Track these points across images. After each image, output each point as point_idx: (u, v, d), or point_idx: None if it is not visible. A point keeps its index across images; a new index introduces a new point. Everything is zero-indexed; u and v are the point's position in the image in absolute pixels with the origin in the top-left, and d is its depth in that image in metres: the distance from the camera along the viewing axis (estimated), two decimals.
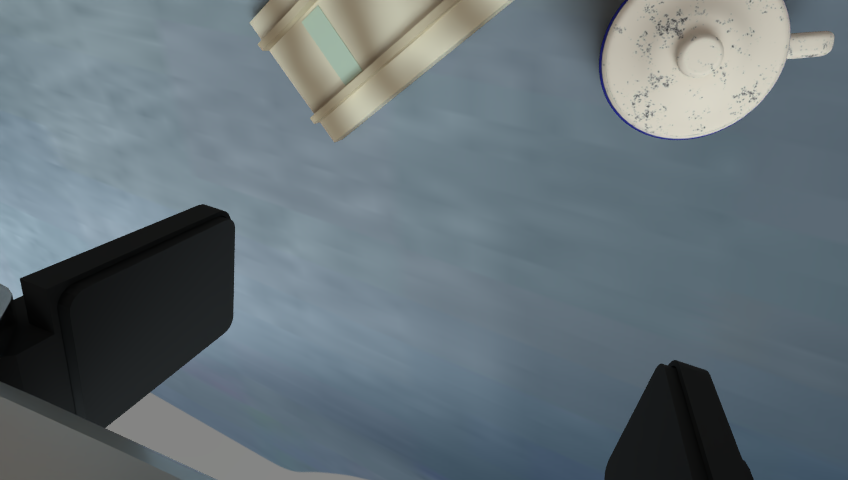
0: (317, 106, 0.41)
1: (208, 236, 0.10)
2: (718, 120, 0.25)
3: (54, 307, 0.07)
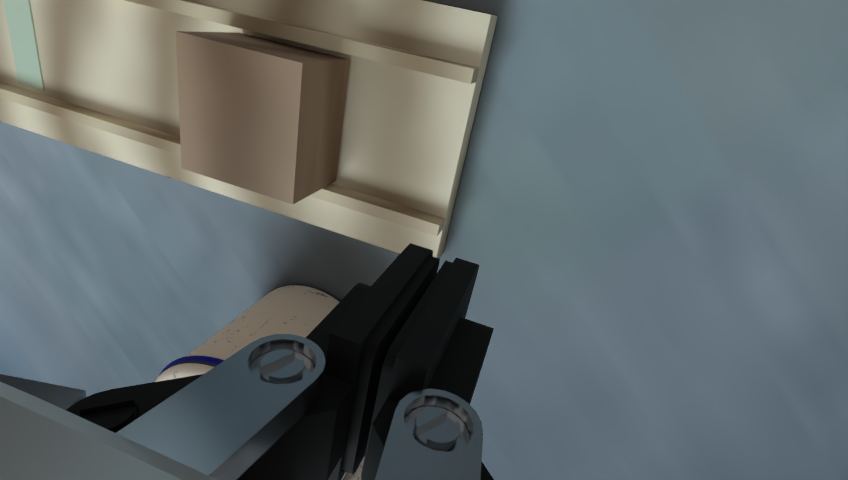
0: None
1: (428, 276, 0.10)
2: None
3: (358, 359, 0.07)
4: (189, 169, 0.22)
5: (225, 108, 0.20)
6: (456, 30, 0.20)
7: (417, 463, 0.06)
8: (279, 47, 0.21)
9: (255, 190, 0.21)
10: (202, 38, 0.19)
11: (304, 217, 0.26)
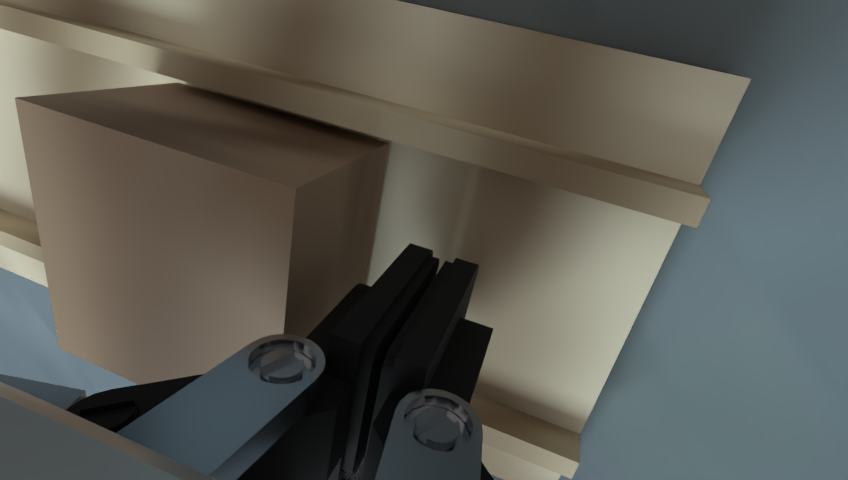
0: None
1: (428, 276, 0.10)
2: None
3: (358, 359, 0.07)
4: (73, 352, 0.11)
5: (131, 258, 0.09)
6: (658, 107, 0.09)
7: (417, 463, 0.06)
8: (249, 124, 0.10)
9: None
10: (71, 116, 0.09)
11: None
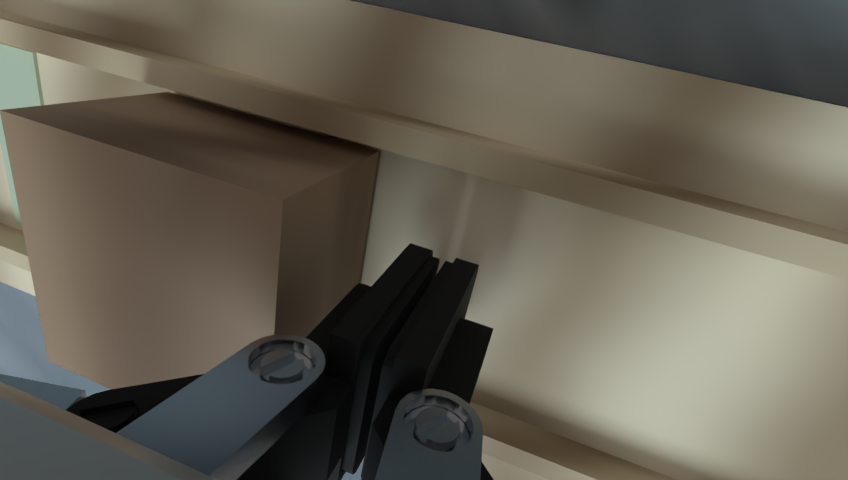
0: None
1: (428, 276, 0.10)
2: None
3: (358, 360, 0.07)
4: (62, 365, 0.11)
5: (119, 271, 0.09)
6: None
7: (417, 463, 0.06)
8: (238, 133, 0.10)
9: None
10: (56, 128, 0.09)
11: None
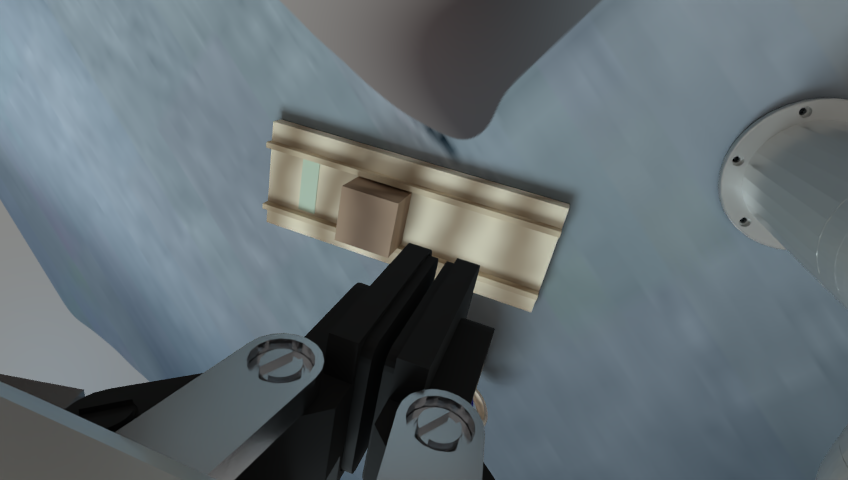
0: (273, 198, 0.54)
1: (427, 276, 0.10)
2: None
3: (357, 359, 0.07)
4: (338, 240, 0.49)
5: (361, 217, 0.47)
6: (552, 213, 0.45)
7: (419, 463, 0.06)
8: (382, 189, 0.48)
9: (370, 251, 0.48)
10: (354, 189, 0.46)
11: None
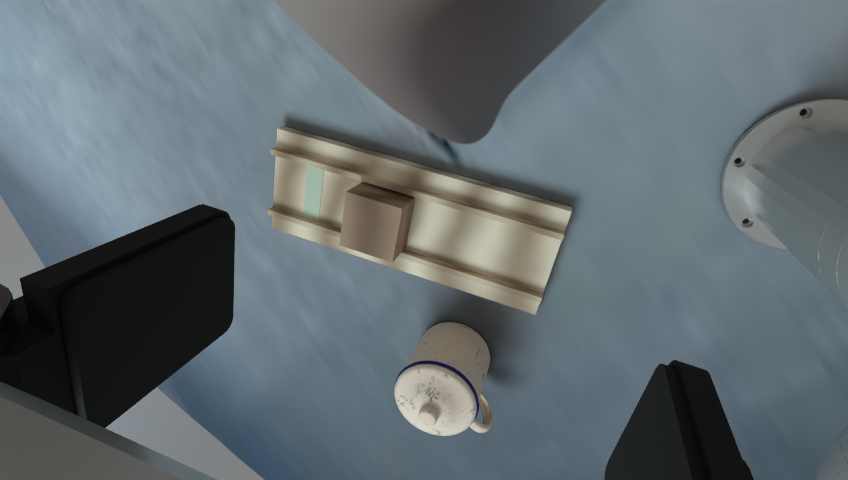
0: (278, 204, 0.55)
1: (208, 236, 0.10)
2: (422, 428, 0.50)
3: (54, 307, 0.07)
4: (343, 245, 0.49)
5: (365, 222, 0.47)
6: (555, 216, 0.46)
7: None
8: (386, 194, 0.48)
9: (375, 256, 0.48)
10: (358, 195, 0.47)
11: (466, 289, 0.51)
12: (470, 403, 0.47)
